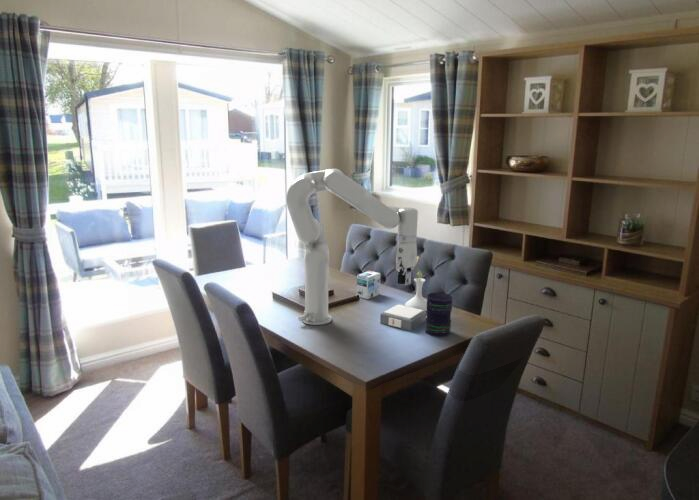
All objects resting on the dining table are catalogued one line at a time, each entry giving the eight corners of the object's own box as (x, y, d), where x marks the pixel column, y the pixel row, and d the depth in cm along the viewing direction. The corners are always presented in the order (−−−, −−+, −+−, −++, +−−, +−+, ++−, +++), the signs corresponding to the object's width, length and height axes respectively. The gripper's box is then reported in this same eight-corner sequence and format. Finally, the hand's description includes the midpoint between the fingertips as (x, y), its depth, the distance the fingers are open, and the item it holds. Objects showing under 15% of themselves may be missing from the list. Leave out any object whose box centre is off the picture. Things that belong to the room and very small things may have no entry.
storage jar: (455, 332, 209) (457, 296, 206) (440, 339, 202) (442, 302, 199) (434, 325, 216) (437, 290, 213) (419, 331, 209) (421, 295, 206)
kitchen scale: (409, 331, 209) (410, 320, 208) (379, 323, 217) (379, 312, 215) (425, 320, 221) (426, 309, 220) (396, 313, 229) (397, 303, 227)
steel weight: (407, 286, 212) (408, 274, 211) (396, 283, 215) (396, 271, 214) (412, 283, 216) (413, 271, 215) (402, 280, 219) (402, 269, 218)
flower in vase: (411, 303, 242) (414, 250, 237) (434, 308, 237) (438, 254, 231) (399, 311, 231) (401, 256, 226) (423, 316, 226) (426, 260, 220)
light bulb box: (367, 299, 246) (368, 277, 244) (355, 296, 250) (356, 274, 248) (380, 294, 254) (381, 272, 252) (368, 291, 258) (369, 270, 256)
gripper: (405, 243, 202) (403, 289, 206) (424, 236, 216) (422, 279, 220) (388, 240, 206) (386, 285, 210) (408, 234, 220) (406, 276, 224)
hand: (404, 281), depth 215 cm, fingers closed on steel weight, 5 cm apart
